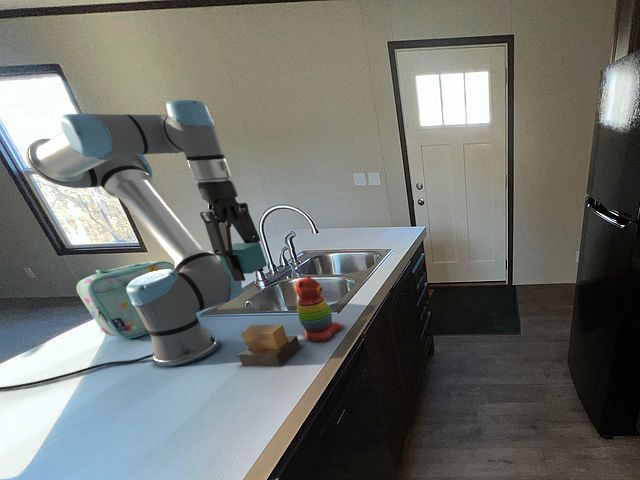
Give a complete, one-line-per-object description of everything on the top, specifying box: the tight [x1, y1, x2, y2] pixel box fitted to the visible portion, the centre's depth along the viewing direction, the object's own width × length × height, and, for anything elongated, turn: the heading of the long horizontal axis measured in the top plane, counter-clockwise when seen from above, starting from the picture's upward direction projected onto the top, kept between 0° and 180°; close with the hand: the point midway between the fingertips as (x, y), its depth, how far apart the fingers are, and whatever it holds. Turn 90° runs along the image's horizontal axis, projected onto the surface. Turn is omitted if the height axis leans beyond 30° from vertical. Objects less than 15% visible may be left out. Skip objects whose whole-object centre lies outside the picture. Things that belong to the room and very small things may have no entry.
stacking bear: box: [294, 275, 343, 342], centre depth 114 cm, size 11×10×18 cm
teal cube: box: [218, 242, 268, 275], centre depth 98 cm, size 7×7×6 cm
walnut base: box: [237, 335, 301, 367], centre depth 106 cm, size 11×11×4 cm
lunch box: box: [76, 260, 175, 339], centre depth 123 cm, size 27×10×21 cm, turn 158°
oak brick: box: [241, 324, 288, 349], centre depth 104 cm, size 9×5×5 cm, turn 85°
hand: (249, 275), depth 100 cm, fingers closed on teal cube, 7 cm apart
